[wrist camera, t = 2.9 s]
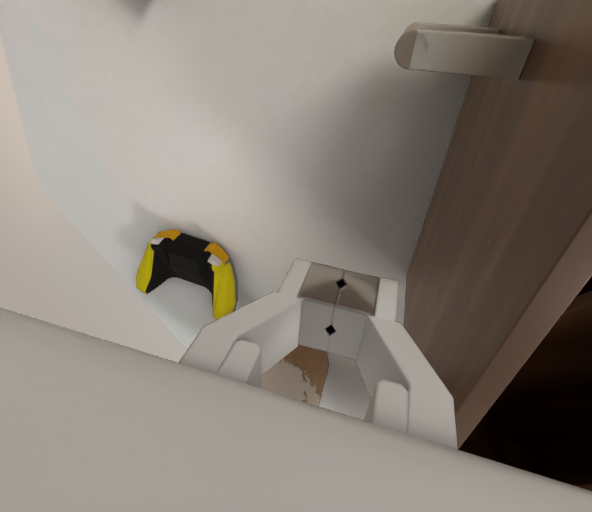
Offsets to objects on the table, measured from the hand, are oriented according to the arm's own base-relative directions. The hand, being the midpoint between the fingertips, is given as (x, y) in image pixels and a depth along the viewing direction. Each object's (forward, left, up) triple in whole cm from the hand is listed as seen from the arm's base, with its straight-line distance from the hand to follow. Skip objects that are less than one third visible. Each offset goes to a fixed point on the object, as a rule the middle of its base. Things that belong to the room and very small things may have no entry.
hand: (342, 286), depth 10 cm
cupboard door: (+3, +6, -25) cm, 26 cm away
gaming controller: (+33, -5, -26) cm, 42 cm away
